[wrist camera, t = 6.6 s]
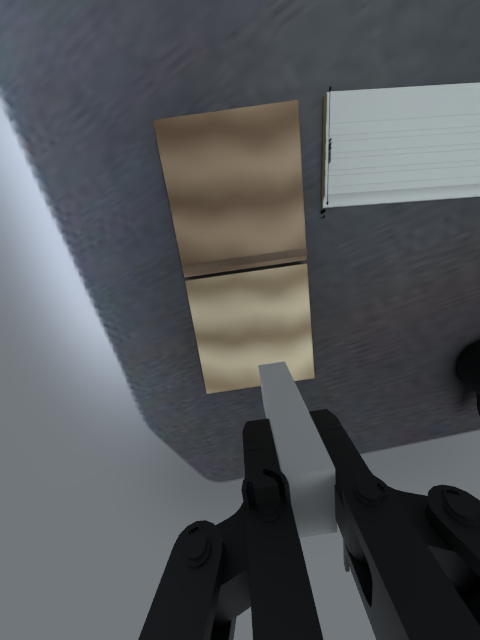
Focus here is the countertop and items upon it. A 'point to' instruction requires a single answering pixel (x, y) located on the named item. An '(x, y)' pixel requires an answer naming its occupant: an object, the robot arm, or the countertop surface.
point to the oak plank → (252, 325)
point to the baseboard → (401, 145)
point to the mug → (471, 369)
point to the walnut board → (235, 187)
